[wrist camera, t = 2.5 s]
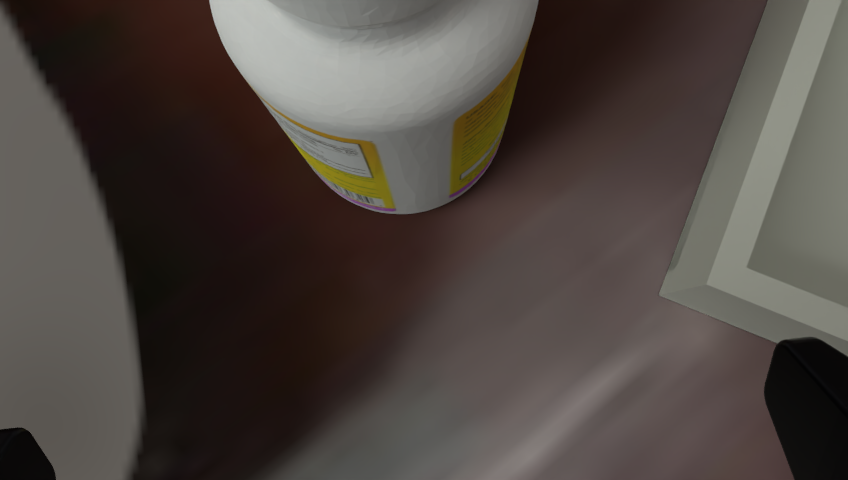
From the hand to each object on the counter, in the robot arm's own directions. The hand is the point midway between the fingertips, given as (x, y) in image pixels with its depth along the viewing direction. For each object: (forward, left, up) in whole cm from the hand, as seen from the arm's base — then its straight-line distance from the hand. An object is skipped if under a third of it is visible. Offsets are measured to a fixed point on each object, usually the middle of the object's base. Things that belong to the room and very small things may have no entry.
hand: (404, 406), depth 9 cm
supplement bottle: (+7, -4, -14) cm, 16 cm away
